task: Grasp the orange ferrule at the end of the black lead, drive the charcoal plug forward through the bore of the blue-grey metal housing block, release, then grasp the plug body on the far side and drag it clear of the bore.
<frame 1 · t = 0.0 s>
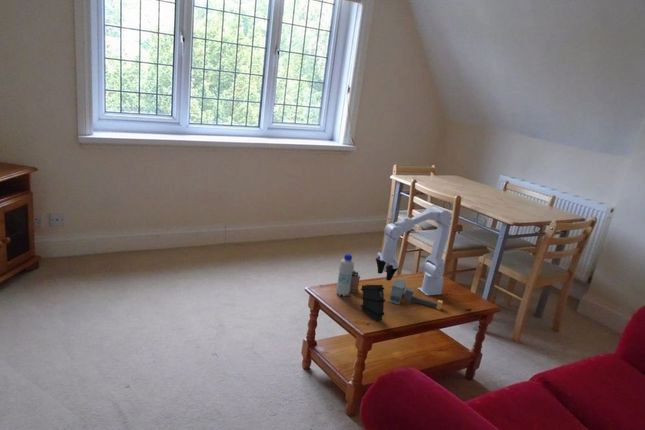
hand: (384, 276, 226), 10 cm above the table, fingers open, 7 cm apart
plug: (407, 299, 229), on the table
lighter: (349, 289, 231), on the table
black ribbed block: (369, 314, 211), on the table
housing: (397, 296, 230), on the table
bottle: (342, 294, 225), on the table
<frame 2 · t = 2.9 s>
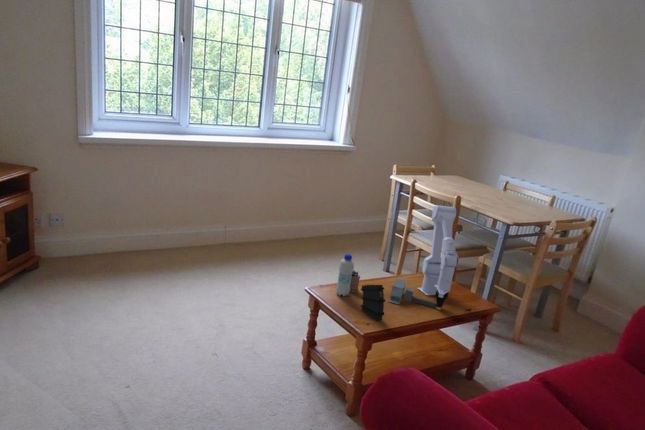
hand: (439, 305, 224), 1 cm above the table, fingers closed on plug, 2 cm apart
plug: (407, 299, 229), on the table, touching gripper
everything else where it was.
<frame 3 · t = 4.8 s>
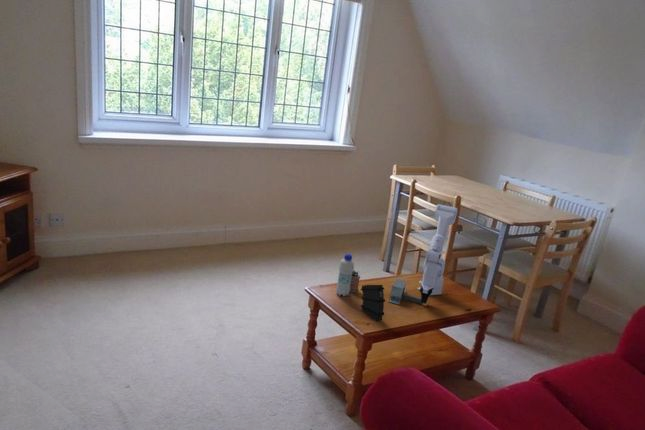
hand: (424, 301, 226), 1 cm above the table, fingers closed on plug, 2 cm apart
plug: (394, 296, 231), on the table, touching gripper
everything else where it was.
when the fingers open (1 cm above the table, at t = 7.2 s): plug stays where it is, on the table.
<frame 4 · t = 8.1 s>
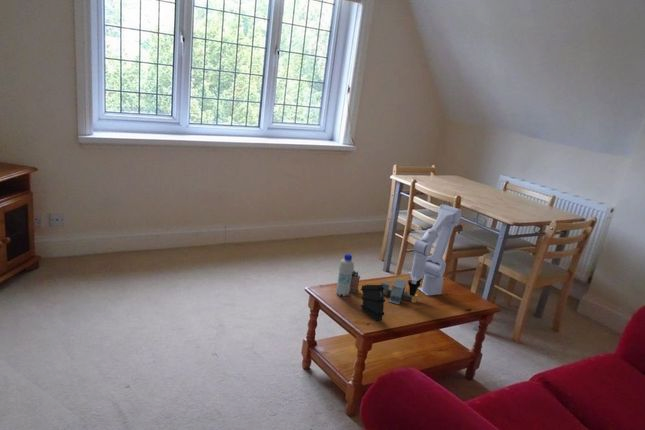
hand: (413, 292, 227), 4 cm above the table, fingers open, 7 cm apart
plug: (383, 293, 232), on the table
everything else where it was.
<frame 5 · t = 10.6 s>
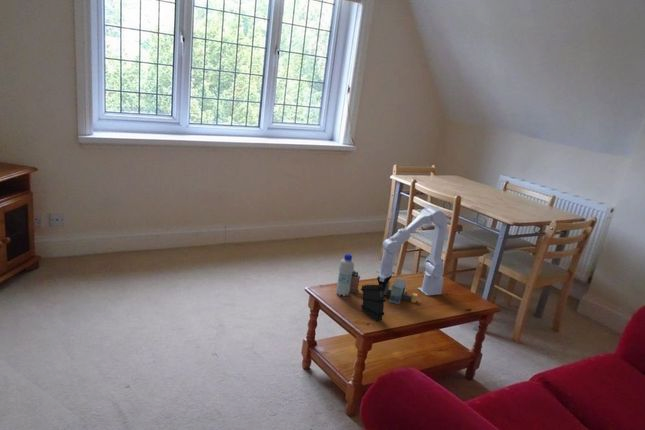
hand: (382, 289, 232), 1 cm above the table, fingers closed on plug, 3 cm apart
plug: (383, 293, 232), on the table, touching gripper
everything else where it was.
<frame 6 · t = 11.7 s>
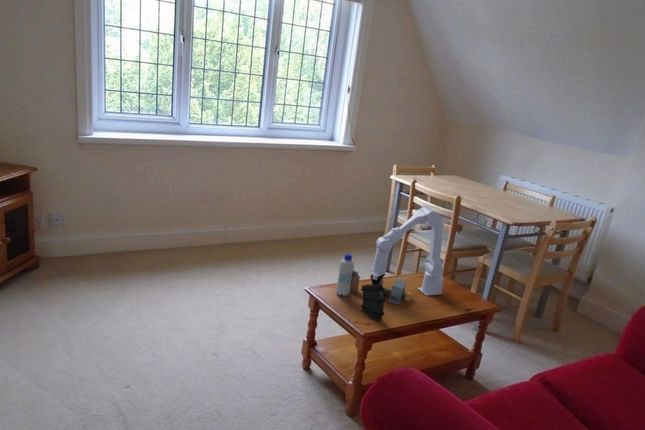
hand: (375, 288, 233), 1 cm above the table, fingers closed on plug, 3 cm apart
plug: (377, 291, 233), on the table, touching gripper
everything else where it was.
when the fingers open (1 cm above the table, at t = 12.8 s): plug stays where it is, on the table.
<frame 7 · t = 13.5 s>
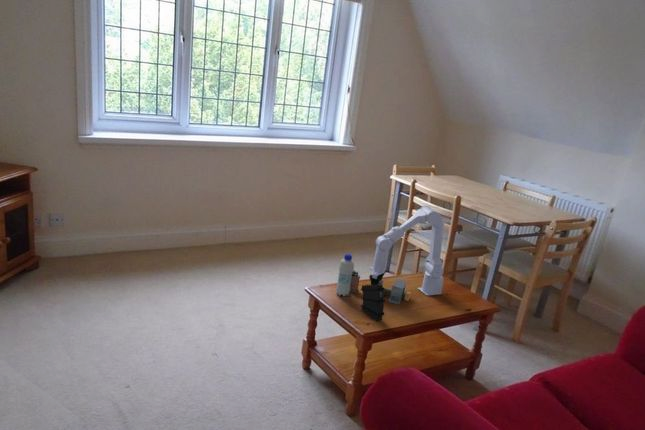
hand: (375, 286, 233), 2 cm above the table, fingers open, 7 cm apart
plug: (377, 291, 233), on the table
everything else where it was.
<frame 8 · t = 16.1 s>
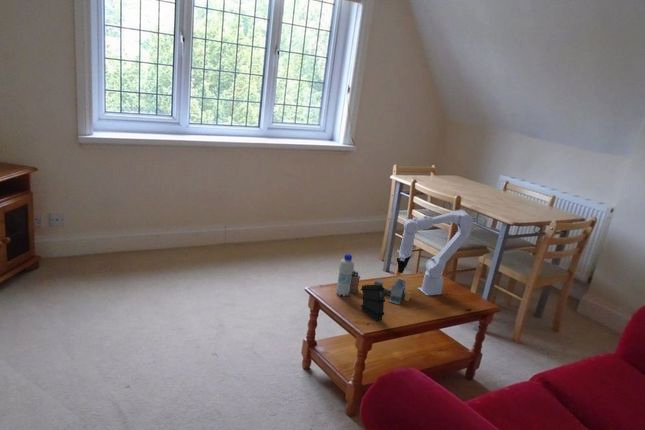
hand: (402, 269, 237), 10 cm above the table, fingers open, 7 cm apart
nothing on the table moved.
at the end: plug inside the target area (1.4 cm from its centre), on the table; plug tilted 0°; the gripper is holding nothing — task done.
